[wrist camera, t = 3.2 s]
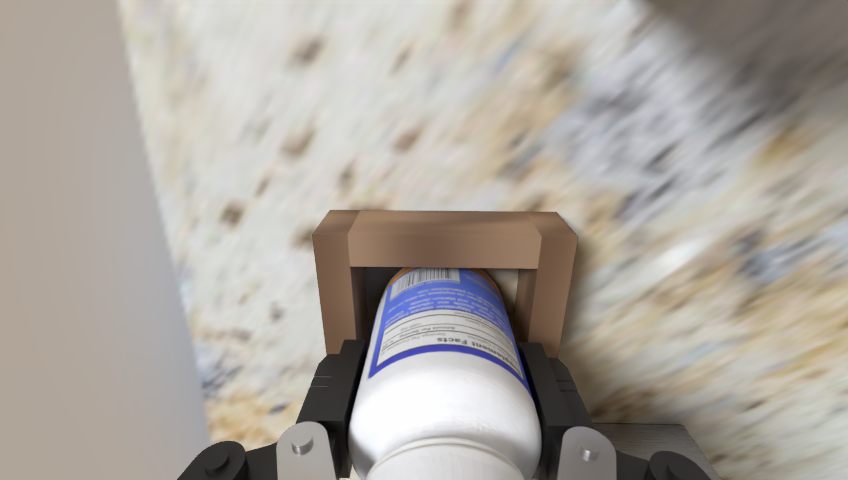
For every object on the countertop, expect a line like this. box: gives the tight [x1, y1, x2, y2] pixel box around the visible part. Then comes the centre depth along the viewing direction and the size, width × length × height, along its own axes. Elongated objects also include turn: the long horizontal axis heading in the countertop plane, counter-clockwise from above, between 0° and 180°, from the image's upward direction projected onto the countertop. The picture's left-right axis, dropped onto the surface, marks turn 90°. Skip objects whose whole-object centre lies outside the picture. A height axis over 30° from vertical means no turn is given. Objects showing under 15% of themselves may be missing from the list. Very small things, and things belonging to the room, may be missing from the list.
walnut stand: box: [312, 210, 578, 358], centre depth 16 cm, size 9×9×2 cm
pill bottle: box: [348, 267, 542, 480], centre depth 13 cm, size 5×5×10 cm
